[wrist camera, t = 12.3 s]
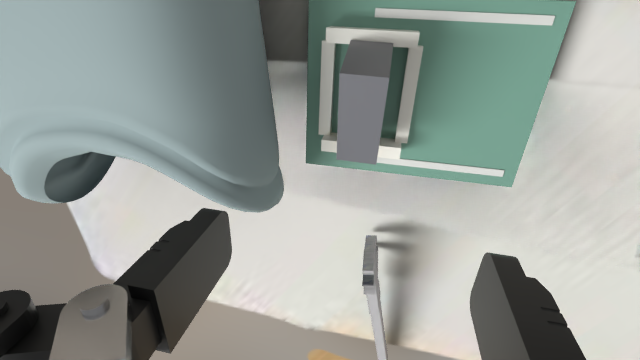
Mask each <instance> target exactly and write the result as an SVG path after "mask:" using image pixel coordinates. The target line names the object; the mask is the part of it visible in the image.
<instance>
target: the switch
mask: <svg viewBox="0 0 640 360" xmlns="http://www.w3.org/2000/svg"><path fill="white" fill-rule="evenodd" d="M393 44H394V43H386V42H373V41H360V40H351V41H350V44H349V47H348V50H347V53H346V56H345V59H344V62H343V65H342V68H341V70H340V75H339V102H338V129H337V155H336V160H344V161H351V162H359V163H367V164H374V165H376V163H377V156H378V150H379V143H380V137H381V130H382V124H383V117H384V110H385V104H386V97H387V91H388V84H389V77H390V69H391V60H392V52H393Z"/></svg>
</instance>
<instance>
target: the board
mask: <svg viewBox="0 0 640 360" xmlns="http://www.w3.org/2000/svg"><path fill="white" fill-rule="evenodd" d="M575 3H576V1H558V0H309V19H308V74H307V128H306V163H309V164H318V165H326V166H335V167H343V168H352V169H361V170H369V171H378V172H386V173H395V174H403V175H412V176H420V177H429V178H437V179H446V180H454V181H463V182H472V183H480V184H489V185H497V186H506V187H512V184H513V182H514V179H515V176H516V173H517V170H518V167H519V164H520V161H521V159H522V156H523V153H524V150H525V147H526V144H527V141H528V138H529V136H530V133H531V130H532V127H533V124H534V121H535V118H536V115H537V113H538V110H539V107H540V104H541V101H542V98H543V95H544V92H545V90H546V87H547V84H548V81H549V78H550V75H551V72H552V69H553V66H554V64H555V61H556V58H557V55H558V52H559V49H560V46H561V43H562V41H563V38H564V35H565V32H566V29H567V26H568V23H569V20H570V18H571V15H572V12H573V9H574V6H575ZM351 40H360V41H373V42H386V43H394V44H393V52H392V60H391V69H390V77H389V84H388V91H387V97H386V104H385V110H384V117H383V124H382V130H381V137H380V143H379V150H378V156H377V163H376V165H374V164H367V163H359V162H351V161H344V160H336V155H337V129H338V102H339V75H340V70H341V68H342V65H343V62H344V59H345V56H346V53H347V50H348V47H349V44H350V41H351Z"/></svg>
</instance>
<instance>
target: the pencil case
mask: <svg viewBox="0 0 640 360" xmlns="http://www.w3.org/2000/svg"><path fill="white" fill-rule="evenodd" d="M115 157H121V158H126V159H130V160H133V161H137V162H140V163H143V164H145V165H147V166H149V167H151V168H153V169H155V170H157V171H159V172H161V173H163V174H165V175H167V176H168V177H170V178H172V179H174V180H176V181H177V182H179V183H181V184H183V185H184V186H186V187H188V188H190V189H192V190H193V191H195V192H197V193H199V194H201V195H202V196H204V197H206V198H208V199H210V200H212V201H214V202H216V203H219V204H221V205H224V206H226V207H228V208H232V209H236V210H240V211H244V212H263V211H267V210H269V209H271V208H272V207H273V206H275V205H276V204H277V203H279V201H280V200H281V198H282V196H283V191H284V182H283V177H282V173H281V170H280V167H279V148H278V139H277V131H276V123H275V115H274V108H273V100H272V93H271V86H270V79H269V72H268V65H267V58H266V51H265V44H264V37H263V30H262V22H261V15H260V7H259V0H0V167H1V168H2V169H3V171H4V172H5V173H6V174H8V175H10V176H11V178H12V180H13V183H14V185H15V188H16V190H17V192H18V193H19V194H20V195H21V196H23V197H24V198H27V199H31V200H34V201H38V202H42V203H65V202H71V201H74V200H77V199H79V198H82V197H84V196H85V195H86V194H88V193H89V192H90V191H92V190H93V189H94V188H95V187H96V186H97V185H98V183H99V182H100V181H101V180H102V178H103V177H104V176H105V174H106V173H107V171H108V169H109V168H110V166H111V164H112V163H113V161H114V159H115Z"/></svg>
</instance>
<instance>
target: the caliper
mask: <svg viewBox="0 0 640 360" xmlns="http://www.w3.org/2000/svg"><path fill="white" fill-rule="evenodd" d="M376 240H377V236H366V242H365V249H364V259H363V284H362V286H364V294H366V295H367V301H368V307H369V313H370V314H371V320H372V326H373V332H374V338H375V344H376V350H377V356H378V360H388V356H387V348H386V340H385V333H384V325H383V317H382V310H381V302H380V287H379V280H378V246H376Z"/></svg>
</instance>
